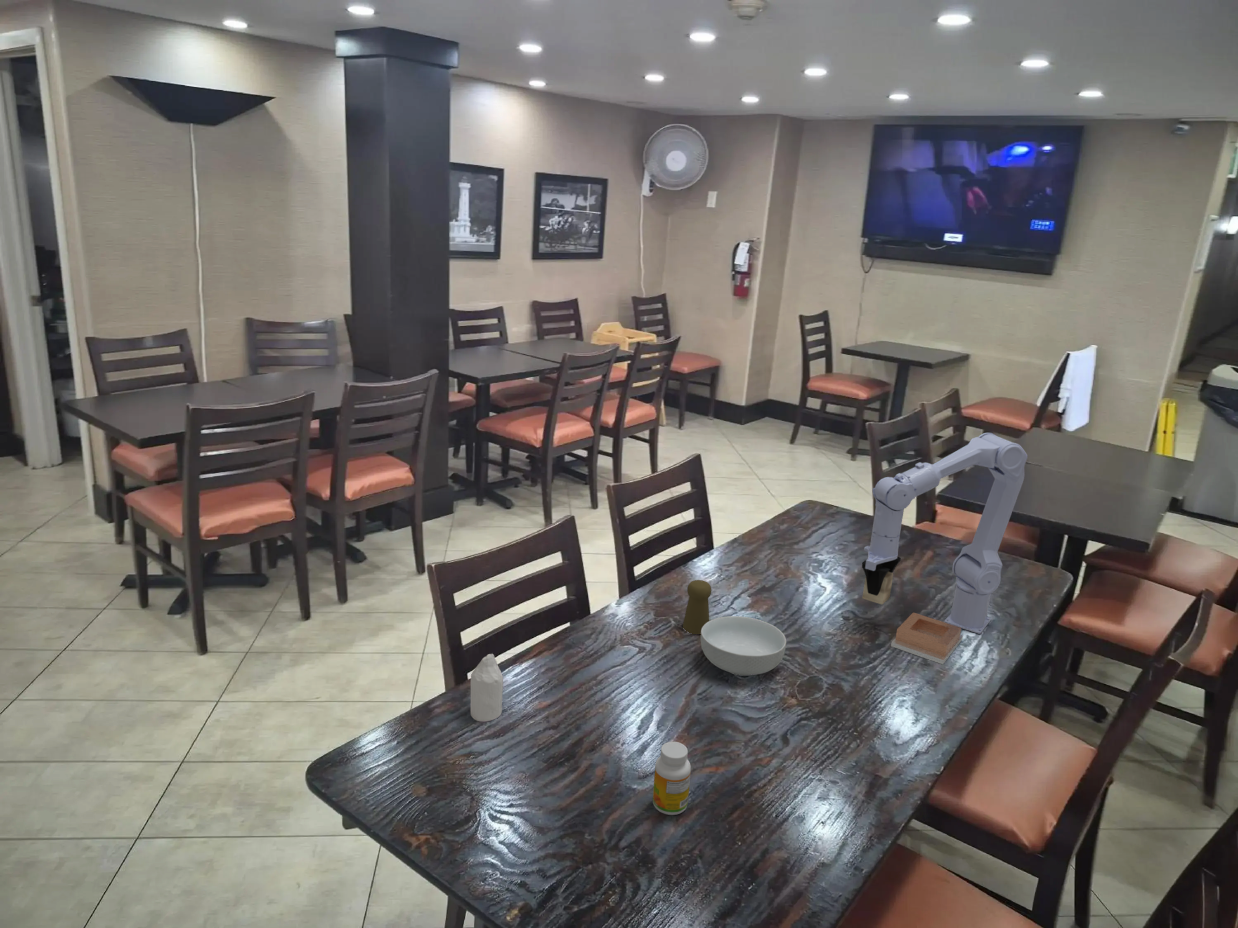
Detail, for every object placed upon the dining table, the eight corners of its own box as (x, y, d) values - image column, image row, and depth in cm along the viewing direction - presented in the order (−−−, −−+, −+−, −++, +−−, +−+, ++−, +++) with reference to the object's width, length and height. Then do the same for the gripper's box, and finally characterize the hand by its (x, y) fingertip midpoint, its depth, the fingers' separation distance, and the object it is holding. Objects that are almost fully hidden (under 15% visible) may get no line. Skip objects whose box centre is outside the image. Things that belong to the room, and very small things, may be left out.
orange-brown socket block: (912, 623, 185) (914, 609, 184) (962, 639, 178) (964, 625, 177) (890, 646, 174) (893, 631, 173) (942, 664, 168) (945, 649, 167)
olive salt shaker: (708, 636, 174) (712, 590, 171) (680, 632, 175) (684, 586, 172) (711, 623, 180) (715, 578, 177) (684, 620, 181) (687, 575, 178)
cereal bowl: (791, 657, 167) (795, 627, 165) (770, 697, 153) (774, 664, 151) (713, 637, 174) (716, 607, 172) (686, 673, 160) (689, 641, 157)
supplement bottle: (650, 791, 126) (654, 738, 123) (684, 791, 126) (689, 737, 124) (654, 816, 121) (658, 761, 118) (690, 815, 121) (695, 760, 118)
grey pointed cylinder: (481, 641, 144) (509, 648, 142) (481, 699, 147) (508, 707, 146) (463, 656, 139) (492, 664, 137) (464, 717, 142) (492, 725, 140)
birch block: (869, 591, 182) (873, 567, 181) (889, 597, 180) (893, 573, 178) (862, 598, 179) (865, 573, 177) (882, 604, 176) (886, 579, 174)
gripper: (880, 519, 183) (871, 574, 187) (855, 536, 171) (846, 595, 175) (911, 527, 179) (902, 583, 182) (887, 546, 167) (878, 605, 171)
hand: (877, 590), depth 179 cm, fingers closed on birch block, 4 cm apart
